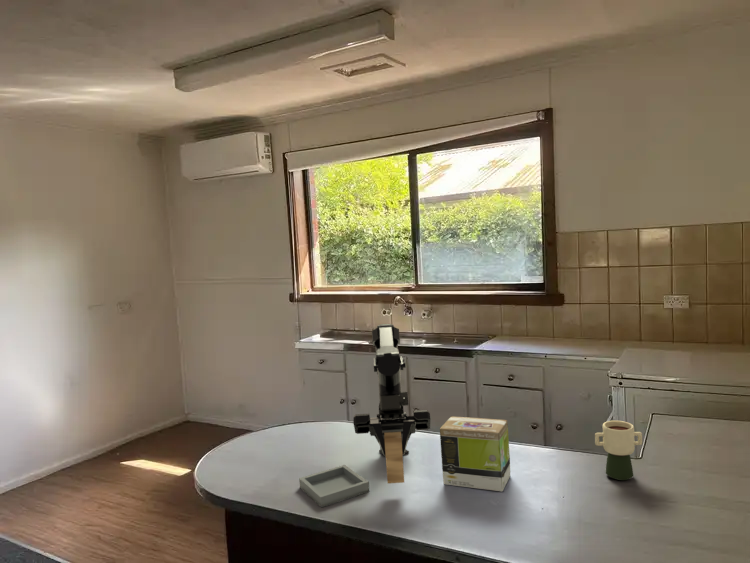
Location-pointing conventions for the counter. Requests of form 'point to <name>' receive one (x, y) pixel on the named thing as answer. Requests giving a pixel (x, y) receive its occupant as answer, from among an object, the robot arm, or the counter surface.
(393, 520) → the counter surface
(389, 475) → the oak post
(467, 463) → the tea box
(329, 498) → the tray
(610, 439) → the character mug
